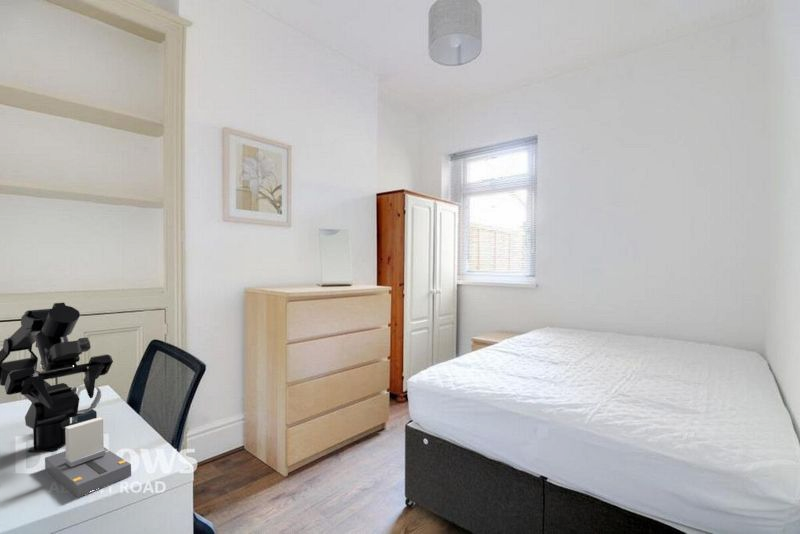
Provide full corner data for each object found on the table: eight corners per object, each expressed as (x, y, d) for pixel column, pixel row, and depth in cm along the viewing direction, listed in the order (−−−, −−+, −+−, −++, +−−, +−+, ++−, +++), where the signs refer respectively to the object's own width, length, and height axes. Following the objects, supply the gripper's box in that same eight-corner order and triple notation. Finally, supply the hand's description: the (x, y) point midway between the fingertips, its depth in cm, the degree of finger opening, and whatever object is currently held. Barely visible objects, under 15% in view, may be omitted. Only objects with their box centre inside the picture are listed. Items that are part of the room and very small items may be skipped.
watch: (63, 425, 106) (62, 387, 106) (98, 416, 112) (97, 379, 112) (68, 430, 102) (67, 390, 102) (104, 420, 109) (103, 383, 109)
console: (45, 468, 83) (44, 457, 83) (95, 451, 90) (94, 440, 90) (77, 498, 72) (77, 484, 72) (131, 475, 79) (131, 463, 79)
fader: (64, 461, 80) (63, 425, 80) (98, 450, 85) (97, 416, 85) (70, 467, 78) (70, 430, 78) (105, 454, 83) (104, 419, 83)
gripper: (7, 334, 81) (23, 394, 75) (109, 323, 97) (129, 371, 91) (-2, 365, 85) (12, 424, 80) (97, 349, 101) (115, 397, 95)
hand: (72, 402), depth 86 cm, fingers open, 7 cm apart
